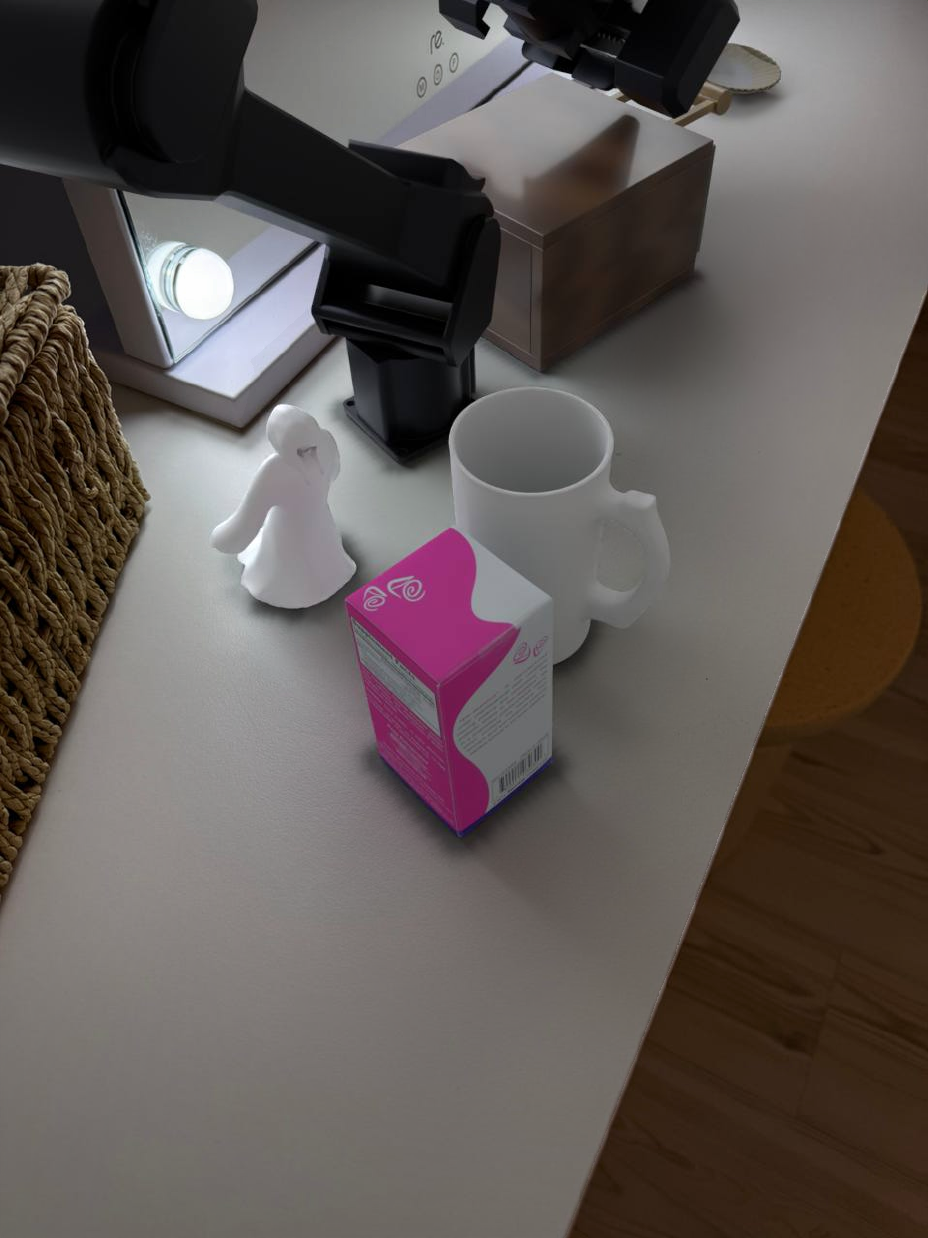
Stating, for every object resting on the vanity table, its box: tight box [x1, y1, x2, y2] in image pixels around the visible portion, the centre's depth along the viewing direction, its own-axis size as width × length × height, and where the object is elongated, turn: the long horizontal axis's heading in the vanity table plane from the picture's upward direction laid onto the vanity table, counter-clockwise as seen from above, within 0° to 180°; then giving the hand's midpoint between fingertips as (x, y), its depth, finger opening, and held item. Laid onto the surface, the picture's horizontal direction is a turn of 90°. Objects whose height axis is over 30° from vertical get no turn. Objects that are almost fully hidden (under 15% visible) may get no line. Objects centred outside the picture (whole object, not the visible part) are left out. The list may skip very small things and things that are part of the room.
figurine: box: [209, 403, 358, 610], centre depth 50 cm, size 8×8×12 cm
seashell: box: [706, 42, 782, 95], centre depth 86 cm, size 8×3×8 cm
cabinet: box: [393, 72, 714, 373], centre depth 67 cm, size 15×14×9 cm
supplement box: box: [344, 524, 554, 838], centre depth 42 cm, size 6×6×12 cm
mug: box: [448, 386, 671, 666], centre depth 46 cm, size 10×7×12 cm, turn 60°
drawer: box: [609, 81, 733, 254], centre depth 68 cm, size 19×13×8 cm, turn 133°
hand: (636, 80), depth 65 cm, fingers closed
